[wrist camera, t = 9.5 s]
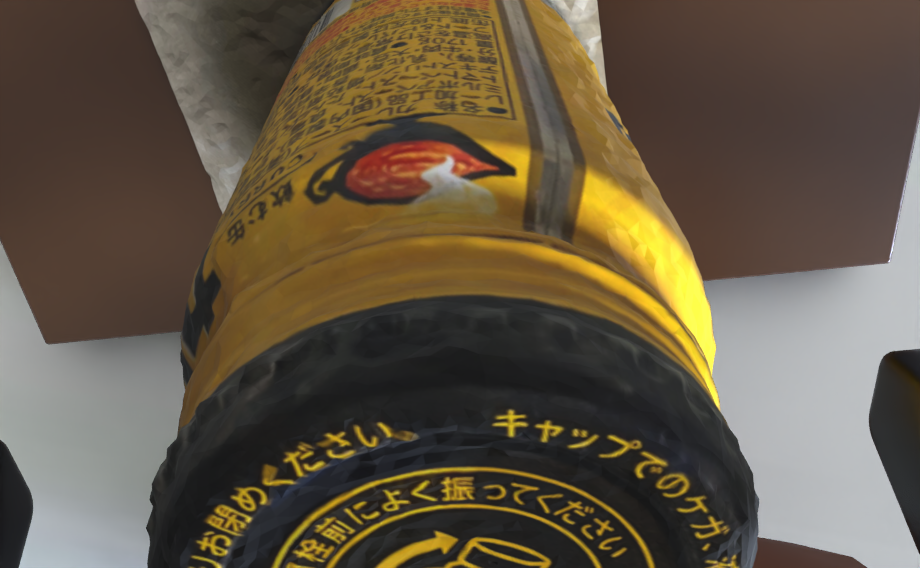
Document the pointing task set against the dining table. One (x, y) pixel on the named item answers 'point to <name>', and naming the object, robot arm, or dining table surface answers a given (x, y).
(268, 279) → the condiment
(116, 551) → the dining table surface
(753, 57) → the walnut board
